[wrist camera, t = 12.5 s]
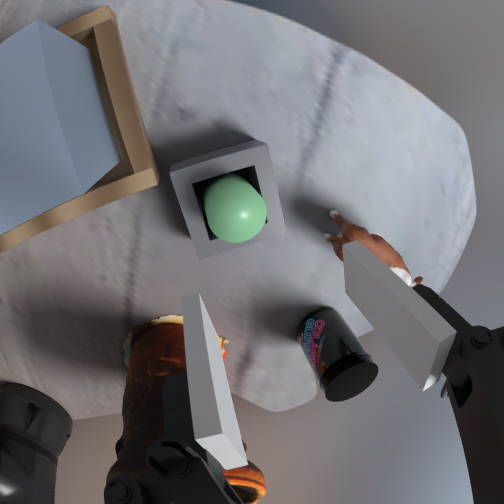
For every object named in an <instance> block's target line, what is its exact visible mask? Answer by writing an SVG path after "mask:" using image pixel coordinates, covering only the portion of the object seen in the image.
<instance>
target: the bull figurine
mask: <svg viewBox="0 0 504 504" xmlns="http://www.w3.org/2000/svg"><path fill="white" fill-rule="evenodd" d="M329 215H330V216H331V217H332V218H334V219H335V220H336V223H337V224H338V225H340V227H341V228H342V230H341V231H339V233H338V234H337V236H332V235H331V234H329V233H325V234H324V238H325V240H326V241H327V242H330V244H332V245H333V247H334V251H335V253H336V255H337V256H338V257H339V259H340V260H342V261H343V248H342V245H344V244H347V243H349V242H352V241H355V240H357V241H359V242H360V243H361V244H362V245H363V246H365V247H366V248H367V249H368V250H369V251H370V252H372V253H373V254H374V255H375V256H376V257H377V258H379V259H380V260H381V261H382V262H383V263H384V264H385V265H387V266H388V267H389V268H390V269H391V270H392V271H393V272H394V273H396V274H397V275H398V276H399V277H400V278H401V279H402V280H403V281H404V282H406V283H407V284H408V285H409V286H410V287H413V286H415V285H417V284H420V283H421V282H422V281H423V278H422V277H417V278H415V279H414V280H413V281H412V280H411V275H410V272H409V270H408V269H407V267H406V266H405V263H404V261H403V259H402V257H401V256H400V254H399V253H398V252H396V251H395V250H394V248H393V247H392V246H391V245H390V244H389V243H387V242H386V241H385V240H384V239H383V238H382V237H380V236H378V235H375V234H369V232H368V231H367V230H366V229H364V228H362V227H359V226H356V225H355V224H350V223H349V222H347V221H345V220H344V219H343V218H342V217H341V216H338V212H337V211H336V210H333V211H332V210H331V211H330V213H329ZM343 262H344V261H343Z"/></svg>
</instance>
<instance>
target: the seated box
mask: <svg viewBox="0 0 504 504" xmlns="http://www.w3.org/2000/svg"><path fill="white" fill-rule="evenodd" d="M120 161H121V157H120V154H119V151H118V148H117V145H116V142H115V139H114V136H113V132H112V129H111V126H110V123H109V119H108V116H107V113H106V109H105V106H104V102H103V99H102V95H101V91H100V88H99V84H98V80H97V76H96V72H95V68H94V64H93V60H92V56H91V51H90V49H88V48H87V47H85V46H83V45H82V44H80V43H78V42H77V41H75V40H74V39H72V38H70V37H69V36H67V35H65V34H63V33H62V32H60V31H58V30H57V29H55V28H53V27H51V26H50V25H48V24H46V23H44V22H43V21H41V20H39V19H37V20H35V21H33V22H32V23H30V24H28V25H27V26H25V27H24V28H22V29H20V30H19V31H17V32H16V33H14V34H13V35H11V36H10V37H9V38H7V39H6V40H4V41H3V42H2V43H0V235H2V234H4V233H6V232H7V231H9V230H11V229H13V228H15V227H16V226H18V225H20V224H22V223H24V222H26V221H28V220H30V219H32V218H34V217H36V216H38V215H40V214H42V213H44V212H46V211H48V210H50V209H52V208H54V207H56V206H58V205H60V204H62V203H64V202H67V201H69V200H71V199H73V198H75V197H78V196H80V195H82V194H84V193H85V192H86V191H88V190H89V189H90V188H91V187H92V186H93V185H94V184H95V183H96V182H97V181H98V180H99V179H101V178H102V177H103V176H104V175H105V174H106V173H107V172H108V171H110V170H111V169H112V168H113V167H114V166H115V165H117V164H118V163H119V162H120Z"/></svg>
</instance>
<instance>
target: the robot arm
mask: <svg viewBox="0 0 504 504" xmlns="http://www.w3.org/2000/svg"><path fill="white" fill-rule="evenodd" d="M342 248H343V261H344V275H345V292H346V294H347V295H348V297H349V298H350V299H351V300H352V301H353V303H354V304H355V305H356V306H357V307H358V309H359V310H360V311H361V312H362V314H363V315H364V316H365V317H366V319H367V320H368V321H369V322H370V324H371V325H372V326H373V327H374V329H375V330H376V331H377V332H378V334H379V335H380V336H381V337H382V339H383V340H384V341H385V343H386V344H387V345H388V346H389V348H390V349H391V350H392V351H393V353H394V354H395V355H396V357H397V358H398V359H399V361H400V362H401V363H402V364H403V366H404V367H405V368H406V370H407V371H408V372H409V374H410V375H411V376H412V378H413V379H414V380H415V382H416V383H417V384H418V386H419V387H420V388H421V390H422V391H424V390H425V389H427V388H429V387H430V386H432V385H434V384H435V383H437V382H438V381H439V379H440V376H441V374H442V372H443V374H444V375H445V376H446V377H447V379H446V381H445V384H444V386H443V388H442V391H441V398H443V397H444V396H445V394H446V392H448V394H447V396H449V398H450V402H451V405H452V408H453V411H454V415H455V418H456V422H457V426H458V429H459V433H460V437H461V441H462V445H463V449H464V453H465V458H466V462H467V467H468V472H469V477H470V483H471V488H472V494H473V501H474V504H504V326H503V327H500V328H497V329H494V330H489V329H488V328H486V327H483V326H471V325H470V324H469V323H468V322H467V321H466V320H465V319H464V318H463V317H461V316H460V315H459V314H458V313H457V312H456V311H455V310H454V309H453V308H452V307H451V306H450V305H449V304H446V302H445V301H444V300H443V299H442V298H440V297H439V295H438V294H436V293H435V292H434V291H433V290H432V289H431V288H429V287H426V286H424V285H422V284H417V285H415V286H413V287H410V286H409V285H408V284H407V283H406V282H404V281H403V280H402V279H401V278H400V277H399V276H398V275H397V274H396V273H394V272H393V271H392V270H391V269H390V268H389V267H388V266H387V265H385V264H384V263H383V262H382V261H381V260H380V259H379V258H377V257H376V256H375V255H374V254H373V253H372V252H370V251H369V250H368V249H367V248H366V247H365V246H363V245H362V244H361V243H360V242H359V241H357V240H355V241H352V242H349V243H347V244H344V245H342ZM182 311H183V327H184V341H185V354H186V366H187V371H183V372H179V373H176V374H172V375H168V376H167V378H166V380H165V383H164V385H163V388H162V393H163V411H164V413H163V418H164V436H165V437H163V438H159V439H157V440H156V441H154V442H153V443H152V444H151V445H150V446H149V448H148V449H147V451H146V455H145V463H146V467H148V468H149V469H151V471H149V472H147V473H145V474H143V475H141V476H138V477H136V478H134V479H133V478H131V477H129V476H124V475H119V476H116V477H113V478H112V479H111V480H110V481H108V483H107V484H106V487H105V489H104V502H105V504H244V503H243V502H242V500H241V499H240V497H239V496H238V495H237V493H236V492H235V490H234V489H233V488H232V486H231V485H230V483H229V482H228V481H227V480H226V479H225V478H224V474H223V469H222V467H223V468H224V469H226V470H229V469H233V468H237V467H241V466H245V465H248V462H247V458H246V455H245V451H244V447H243V443H242V439H241V436H240V432H239V427H238V424H237V419H236V415H235V411H234V407H233V402H232V398H231V394H230V390H229V385H228V381H227V376H226V372H225V367H224V363H223V358H222V353H221V349H220V344H219V339H218V336H217V333H216V331H215V329H214V327H213V324H212V322H211V320H210V317H209V315H208V313H207V310H206V308H205V306H204V303H203V301H202V299H201V296H200V294H199V292H198V293H195V294H192V295H188V296H185V297H182ZM72 425H73V422H72V419H71V417H70V415H69V414H68V413H67V412H66V410H65V409H64V408H63V407H61V406H60V405H59V404H58V403H56V402H55V401H54V400H52V399H51V398H49V397H48V396H46V395H44V394H42V393H40V392H38V391H36V390H34V389H32V388H29V387H26V386H23V385H19V384H4V385H2V386H1V387H0V504H54V499H55V484H56V472H57V462H58V457H59V455H60V454H61V452H62V450H63V448H64V446H65V444H66V442H67V440H68V439H69V438H70V436H71V431H72Z"/></svg>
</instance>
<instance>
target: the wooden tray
mask: <svg viewBox="0 0 504 504" xmlns="http://www.w3.org/2000/svg"><path fill="white" fill-rule="evenodd" d="M56 29H57V30H58V31H60V32H62V33H63V34H65V35H67V36H69V37H70V38H72V39H74V40H75V41H77V42H78V43H80V44H82V45H83V46H85V47H87V48H88V49H90V51H91V56H92V60H93V64H94V68H95V72H96V76H97V80H98V84H99V88H100V91H101V95H102V99H103V102H104V106H105V109H106V113H107V116H108V119H109V123H110V126H111V129H112V132H113V136H114V139H115V142H116V145H117V148H118V151H119V154H120V157H121V161H120V162H119V163H118V164H117V165H115V166H114V167H113V168H112V169H111V170H110V171H108V172H107V173H106V174H105V175H104V176H103V177H102V178H101V179H99V180H98V181H97V182H96V183H95V184H94V185H93V186H92V187H91V188H90V189H89V190H88V191H86V192H85V193H84V194H82V195H80V196H78V197H75V198H73V199H71V200H69V201H67V202H64V203H62V204H60V205H58V206H56V207H54V208H52V209H50V210H48V211H46V212H44V213H42V214H40V215H38V216H36V217H34V218H32V219H30V220H28V221H26V222H24V223H22V224H20V225H18V226H16V227H15V228H13V229H11V230H9V231H7V232H6V233H4V234H2V235H0V253H1V252H3V251H5V250H7V249H9V248H11V247H13V246H15V245H17V244H19V243H20V242H22V241H24V240H27V239H29V238H31V237H33V236H35V235H37V234H39V233H41V232H43V231H45V230H47V229H50V228H52V227H54V226H56V225H58V224H60V223H63V222H65V221H67V220H69V219H72V218H74V217H76V216H79V215H81V214H83V213H86V212H88V211H90V210H93V209H95V208H98V207H100V206H103V205H105V204H108V203H110V202H113V201H115V200H118V199H120V198H123V197H126V196H128V195H131V194H134V193H136V192H139V191H142V190H145V189H147V188H150V187H153V186H156V185H158V182H159V179H160V174H159V170H158V167H157V164H156V161H155V158H154V155H153V152H152V149H151V146H150V142H149V139H148V136H147V133H146V129H145V126H144V123H143V119H142V116H141V113H140V109H139V106H138V102H137V99H136V95H135V92H134V88H133V84H132V81H131V77H130V73H129V69H128V66H127V62H126V58H125V54H124V50H123V46H122V42H121V37H120V33H119V29H118V24H117V20H116V16H115V14H114V13H113V11H112V10H111V9H110V7H109V6H108V5H106V6H103V7H101V8H99V9H96V10H94V11H92V12H89V13H87V14H85V15H83V16H80V17H78V18H76V19H74V20H72V21H70V22H68V23H66V24H64V25H62V26H60V27H58V28H56Z"/></svg>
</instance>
